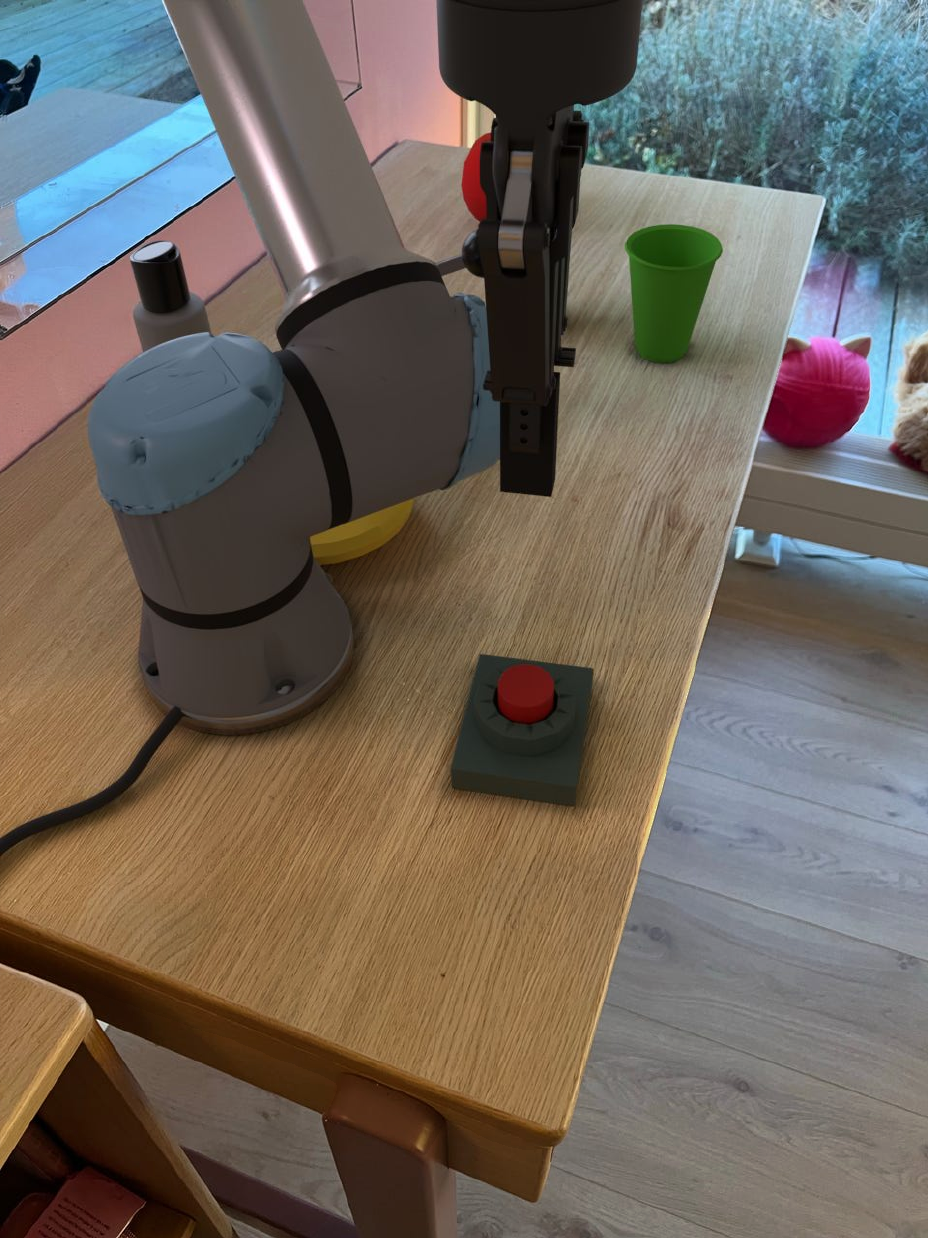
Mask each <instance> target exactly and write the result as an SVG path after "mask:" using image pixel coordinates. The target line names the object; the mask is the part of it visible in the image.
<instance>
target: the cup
mask: <svg viewBox="0 0 928 1238" xmlns="http://www.w3.org/2000/svg"><path fill="white" fill-rule="evenodd" d="M624 250H625V252H626V254H627V256H628V261H629V276H630V277H629V278H630V290H631V304H632V319H633V332H634V333H633V335H634V347H635V349H636V352H637V353H638V355H639V356H641V358H643V359H645V360H646V361H649V362H654V363H661V364H664V363H672V362H675V361H678V360H680V359H682V358H683V357H684V356H685V354H686V353H687V351H688V349H689V346H690V344H691V343H690V342H691V339H692V336H693V333H694V330H695V328H696V325H697V321H698V318H699V315H700V312H701V309H702V305H703V303H704V300H705V297H706V293H707V290H708V287H709V285H710V282H711V281H710V280H711V278H712V274H713V272H714V268H715V266H716V262H717V261H718V260H719V259H720V258H721V257H722V254H723V252H724V250H723V245H722V242H721V241H720V239H719V238H718V237H717V236H716V235H714V234H712V233H711V232H709V231H707V230H706V229H701V228H699V227H696V226H690V225H685V224H676V223H675V224H673V223H670V224H669V223H667V224H666V223H665V224H656V225H650V226H647V227H643V228H640V229H638V230H636V231H634V232H633V233H632V234H631V235H629V236H628V238H627V239H626V242H625V243H624Z"/></svg>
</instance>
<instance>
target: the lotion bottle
mask: <svg viewBox="0 0 928 1238" xmlns="http://www.w3.org/2000/svg"><path fill="white" fill-rule="evenodd" d="M129 263H130V266H131V269H132V273H133V277H134V281H135V284H136V288H137V291H138V294H139V298H140V301H138V302H137V303H136V304H135V306H134V308H133V310H132V318H133V321H134V325H135V329H136V333H137V336H138V339H139V343H140V346H141V349H142V353H143V352H145V351H147V350H149V349H151V348H153V347H155V346H157V345H160V344H162V343H165V342H168V341H170V340H173V339H176V338H180V337H184V336H188V335H193V334H198V333H206V332H209V333H211V334H212V330H211V325H210V321H209V317H208V313H207V309H206V305H205V302H204V300H203V298H202V297H201V296H199V295H198V294H196V293H194V292H191V291H190V289H189V285H188V279H187V276H186V272H185V268H184V263H183V259H182V255H181V251H180V249H179V247H178V246H177V245H176V244H175V243H174V242H172V241H170V240H165V239H164V240H163V239H162V240H161V239H158V240H153V241H150V242H147V243H146V244H144V245H142V246H139V248H137V249H136V250H135V251H134V252H132V254H131V255H130V256H129Z"/></svg>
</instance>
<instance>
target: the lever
mask: <svg viewBox="0 0 928 1238" xmlns="http://www.w3.org/2000/svg"><path fill="white" fill-rule="evenodd" d="M476 233H477V229H475V230H473V231H471V232H470V233H469V234H468V235H467V237H466V238H465V240H464V241H463V244H462V246H461V253H460V254H457V255H454V256H451V257H448V258H446V259H443V260H440V261H438V262H435V263H436V265H437V267H438V269H439V272H440V274H441V276H442V277H444V276H446V275H451V274H452V273H456V272H459V271H462V270H464V269H467V271H468V272H469V273H470V274H471V275H473V276H475V277H477V278H481V279H484V273H483V268H482V263H481V259H480V254H479V248H478V243H477V242H476Z"/></svg>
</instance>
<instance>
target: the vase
mask: <svg viewBox="0 0 928 1238" xmlns="http://www.w3.org/2000/svg"><path fill="white" fill-rule="evenodd" d="M414 502H415V498H413V499H410V500H408V501H405V502H402V503H399V504H397V505H394V506H391V507H388V508H386V509H383V510H381V511H378V512H375V513H373V514H370V515H367V516H365V517H362V518H359V519H357V520H354V521H351V522H349V523H346V524H342V525H340V526H337V527H334V528H332V529H329V530H327V531H324V532H322V533H319V534H316V535H313V536H311V537H310V541H311V547H312V552H313V556H314V558H315V559H316V561H317V562H318V564H319V565H320V566H323V565H333V564H340V563H342V562H347V561H350V560H353V559H357V558H360V557H363V556H364V555H366V554H368V553H370V552H373V551H374V550H376V549H378V548H381V547H383V546H384V545H385V544H386V543H388V542H389V541H390V540H391V539H392V538H394V537H395V536H396V535H397V534H399V532H400V531H401V529H402V528H403V527H404V525H405V524H406V522H407V521H408V519H409V517H410V514H411V513H412V512H411V511H412V509H413V505H414Z"/></svg>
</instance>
